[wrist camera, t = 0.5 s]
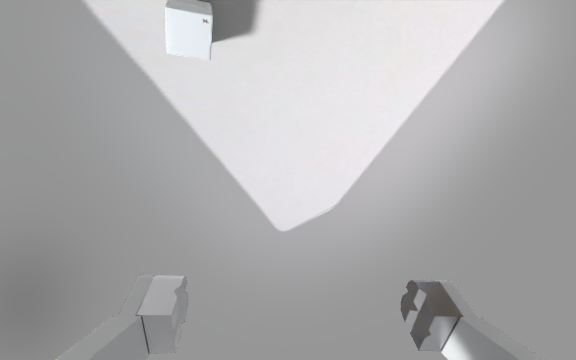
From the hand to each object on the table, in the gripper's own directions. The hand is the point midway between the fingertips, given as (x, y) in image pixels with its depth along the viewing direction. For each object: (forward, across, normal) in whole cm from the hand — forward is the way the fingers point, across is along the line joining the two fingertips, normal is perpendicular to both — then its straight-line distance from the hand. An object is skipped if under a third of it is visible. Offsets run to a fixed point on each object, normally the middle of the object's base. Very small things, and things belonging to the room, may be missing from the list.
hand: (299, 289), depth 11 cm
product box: (+45, +13, -8) cm, 47 cm away
